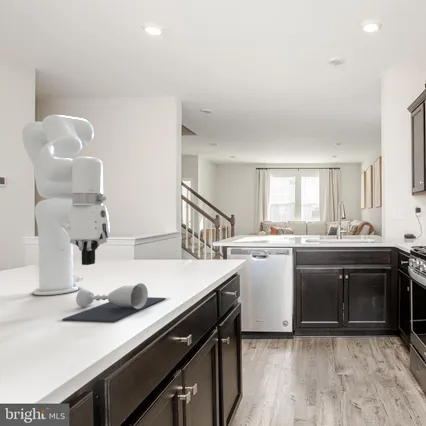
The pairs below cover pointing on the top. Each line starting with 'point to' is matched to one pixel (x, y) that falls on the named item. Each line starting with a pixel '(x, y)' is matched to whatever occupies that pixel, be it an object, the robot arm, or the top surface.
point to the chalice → (117, 296)
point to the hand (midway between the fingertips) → (88, 264)
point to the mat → (109, 312)
